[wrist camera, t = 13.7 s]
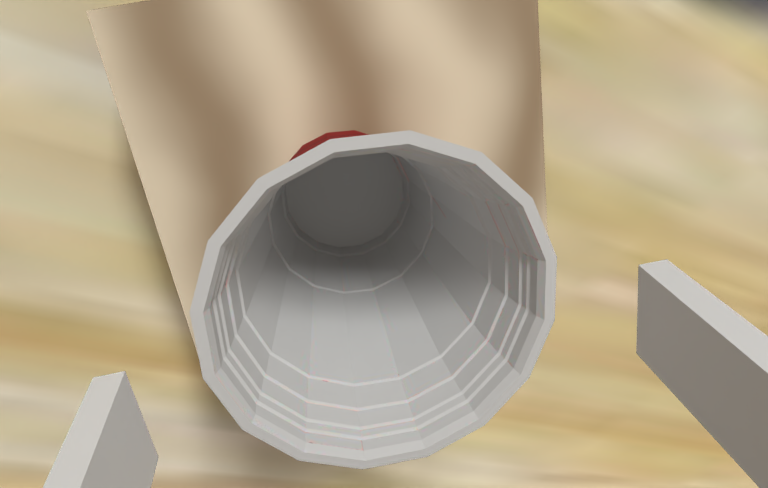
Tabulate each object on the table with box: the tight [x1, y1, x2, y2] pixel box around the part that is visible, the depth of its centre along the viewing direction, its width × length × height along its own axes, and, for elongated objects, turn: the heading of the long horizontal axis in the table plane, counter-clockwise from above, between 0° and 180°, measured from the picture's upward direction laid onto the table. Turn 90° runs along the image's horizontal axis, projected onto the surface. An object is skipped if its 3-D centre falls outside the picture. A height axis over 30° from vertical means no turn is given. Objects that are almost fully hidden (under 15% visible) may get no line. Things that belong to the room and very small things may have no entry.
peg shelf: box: [86, 0, 547, 385], centre depth 32 cm, size 18×18×8 cm
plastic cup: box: [190, 130, 557, 469], centre depth 23 cm, size 11×11×12 cm
